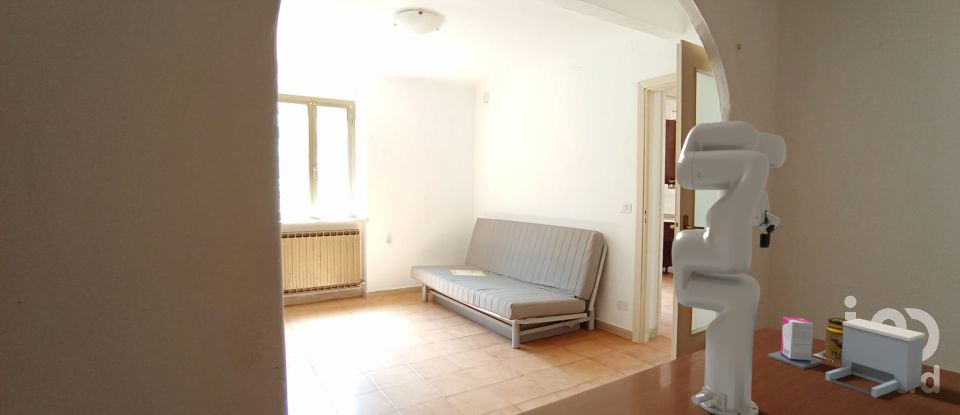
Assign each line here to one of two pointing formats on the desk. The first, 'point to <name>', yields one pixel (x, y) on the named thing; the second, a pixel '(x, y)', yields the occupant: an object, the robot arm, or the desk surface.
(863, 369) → the dispenser
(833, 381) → the bar
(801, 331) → the supplement box
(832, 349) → the condiment
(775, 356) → the coaster
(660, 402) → the desk surface
